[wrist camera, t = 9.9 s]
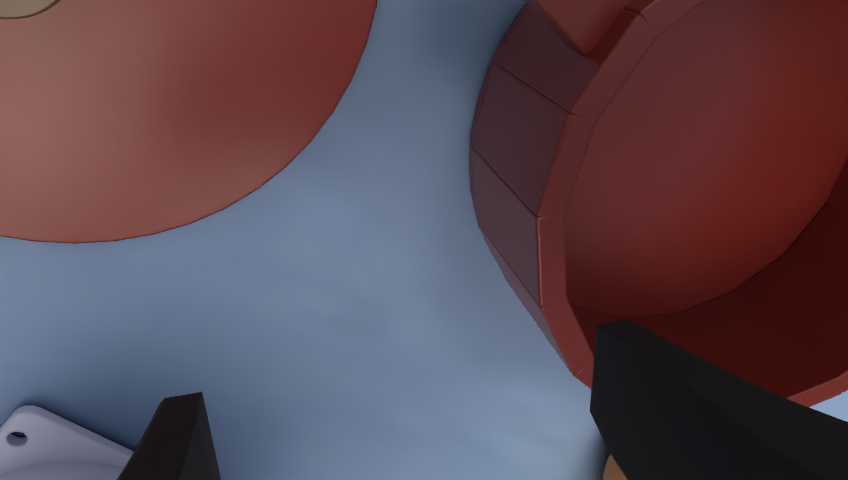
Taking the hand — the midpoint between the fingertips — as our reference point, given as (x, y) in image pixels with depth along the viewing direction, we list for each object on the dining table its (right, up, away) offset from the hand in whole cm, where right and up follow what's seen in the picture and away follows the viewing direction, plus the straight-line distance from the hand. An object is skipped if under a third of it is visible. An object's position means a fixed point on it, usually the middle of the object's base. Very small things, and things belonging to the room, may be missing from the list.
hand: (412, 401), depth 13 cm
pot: (+8, +6, +9) cm, 14 cm away
